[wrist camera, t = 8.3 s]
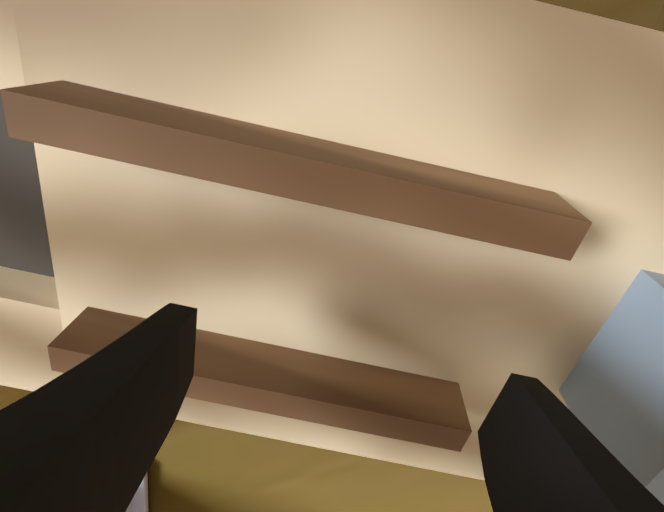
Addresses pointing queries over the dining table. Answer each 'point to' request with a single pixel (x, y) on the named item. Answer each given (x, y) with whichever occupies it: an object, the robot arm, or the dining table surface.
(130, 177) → the birch deck
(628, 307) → the slate block
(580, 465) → the robot arm
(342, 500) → the dining table surface
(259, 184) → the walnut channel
